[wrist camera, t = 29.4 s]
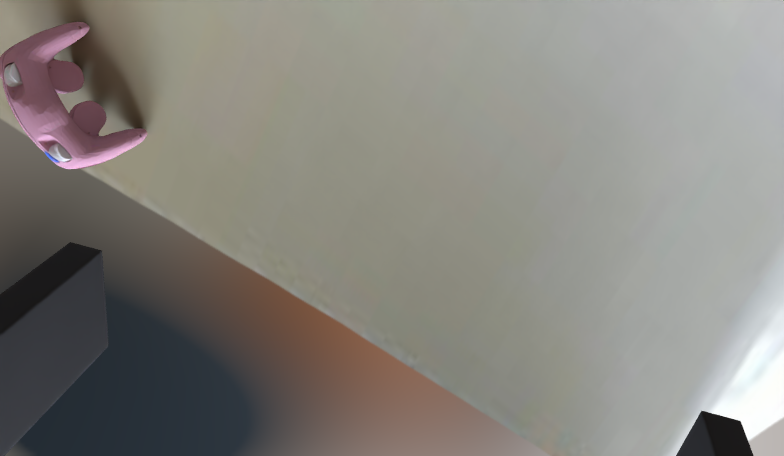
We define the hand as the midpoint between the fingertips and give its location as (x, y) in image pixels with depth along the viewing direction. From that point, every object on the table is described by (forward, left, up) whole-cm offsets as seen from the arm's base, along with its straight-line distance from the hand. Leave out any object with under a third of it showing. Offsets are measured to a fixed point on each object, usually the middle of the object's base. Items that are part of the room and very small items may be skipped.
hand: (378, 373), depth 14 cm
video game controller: (-20, -22, -32) cm, 44 cm away
